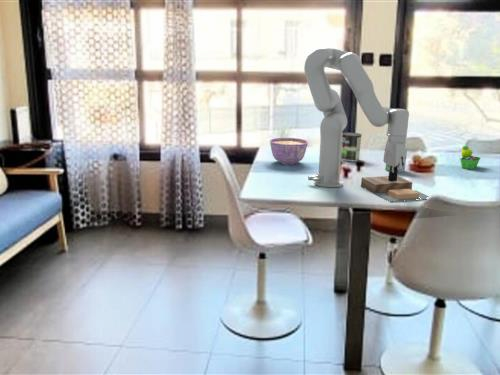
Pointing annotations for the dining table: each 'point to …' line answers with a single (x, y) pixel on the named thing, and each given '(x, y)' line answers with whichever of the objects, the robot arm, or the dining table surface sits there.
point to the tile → (403, 193)
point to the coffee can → (350, 146)
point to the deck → (384, 184)
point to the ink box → (402, 166)
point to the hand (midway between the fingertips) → (392, 180)
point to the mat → (390, 198)
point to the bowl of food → (288, 149)
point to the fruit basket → (468, 159)
